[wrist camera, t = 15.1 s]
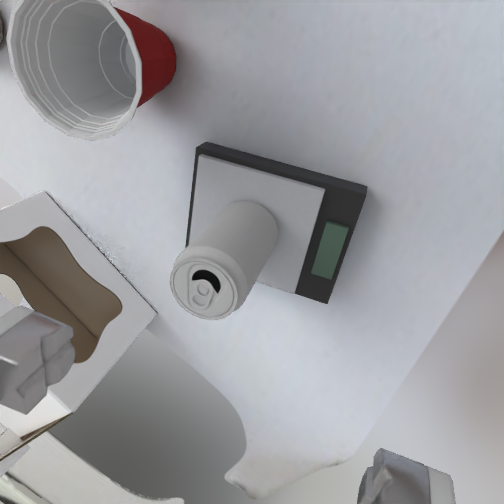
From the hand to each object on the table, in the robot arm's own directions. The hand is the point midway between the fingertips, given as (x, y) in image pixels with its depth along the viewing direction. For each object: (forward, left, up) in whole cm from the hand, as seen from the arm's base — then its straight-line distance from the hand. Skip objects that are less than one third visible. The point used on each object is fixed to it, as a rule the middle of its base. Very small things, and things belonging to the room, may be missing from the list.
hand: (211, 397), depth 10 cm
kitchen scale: (+5, +11, -32) cm, 34 cm away
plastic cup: (+20, -2, -32) cm, 38 cm away
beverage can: (+6, +10, -29) cm, 31 cm away
